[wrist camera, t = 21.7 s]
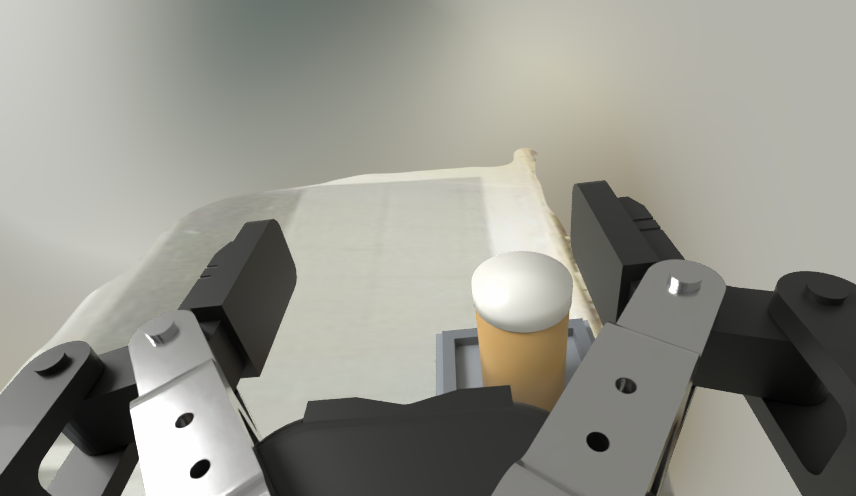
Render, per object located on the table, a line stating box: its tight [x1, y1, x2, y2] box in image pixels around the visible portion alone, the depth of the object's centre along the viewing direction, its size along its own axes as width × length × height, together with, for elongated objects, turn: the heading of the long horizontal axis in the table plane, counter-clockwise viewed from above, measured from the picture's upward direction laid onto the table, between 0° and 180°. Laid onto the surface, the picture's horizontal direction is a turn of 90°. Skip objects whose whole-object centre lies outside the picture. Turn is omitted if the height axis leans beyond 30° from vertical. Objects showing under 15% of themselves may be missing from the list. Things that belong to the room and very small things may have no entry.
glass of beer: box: [471, 251, 573, 412], centre depth 32 cm, size 6×6×11 cm
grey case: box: [436, 318, 595, 396], centre depth 37 cm, size 13×13×8 cm
